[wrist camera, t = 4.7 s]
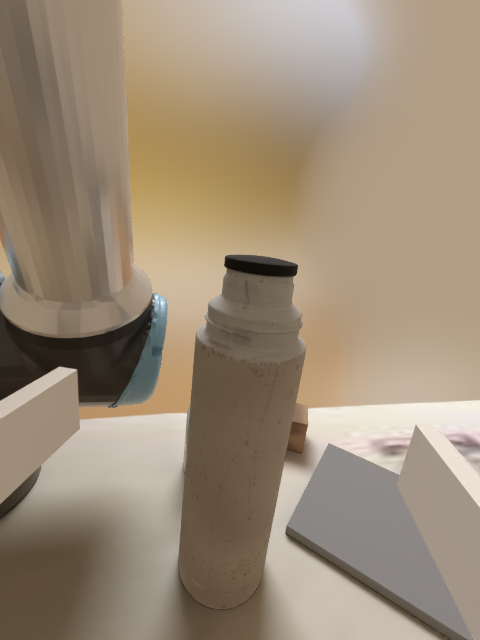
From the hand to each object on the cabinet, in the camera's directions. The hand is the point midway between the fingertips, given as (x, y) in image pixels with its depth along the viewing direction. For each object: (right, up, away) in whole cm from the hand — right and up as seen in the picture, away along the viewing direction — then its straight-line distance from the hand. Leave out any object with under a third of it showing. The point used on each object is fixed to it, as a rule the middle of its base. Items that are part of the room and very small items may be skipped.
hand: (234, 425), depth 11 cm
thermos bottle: (-2, -18, +16) cm, 25 cm away
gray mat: (+16, -19, +22) cm, 33 cm away
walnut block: (+7, -14, +34) cm, 37 cm away
